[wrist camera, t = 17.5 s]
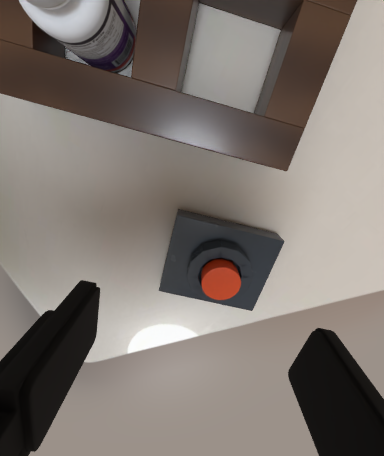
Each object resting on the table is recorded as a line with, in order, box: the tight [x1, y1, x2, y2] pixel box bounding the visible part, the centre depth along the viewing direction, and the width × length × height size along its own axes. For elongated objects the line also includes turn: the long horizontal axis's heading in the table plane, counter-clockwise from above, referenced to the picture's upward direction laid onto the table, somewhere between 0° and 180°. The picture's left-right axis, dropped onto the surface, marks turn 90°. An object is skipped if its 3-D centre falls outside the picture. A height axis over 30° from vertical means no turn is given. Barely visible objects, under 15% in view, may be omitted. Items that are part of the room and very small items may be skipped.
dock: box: [0, 0, 357, 171], centre depth 16 cm, size 14×25×4 cm, turn 76°
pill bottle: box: [19, 0, 136, 73], centre depth 14 cm, size 5×5×10 cm
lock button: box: [201, 259, 241, 300], centre depth 22 cm, size 4×4×2 cm
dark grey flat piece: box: [159, 209, 284, 311], centre depth 24 cm, size 12×10×4 cm
